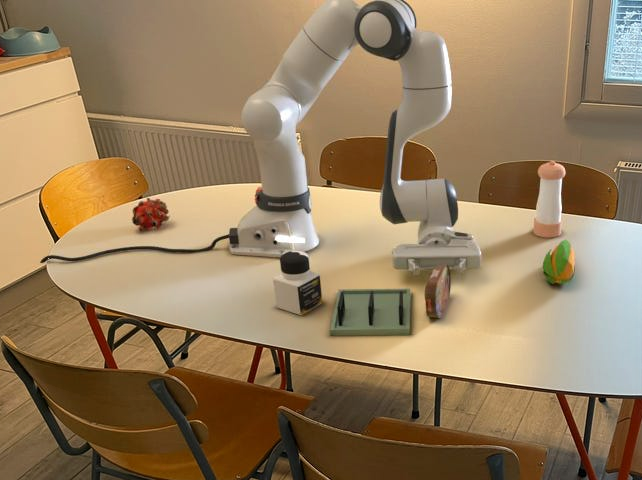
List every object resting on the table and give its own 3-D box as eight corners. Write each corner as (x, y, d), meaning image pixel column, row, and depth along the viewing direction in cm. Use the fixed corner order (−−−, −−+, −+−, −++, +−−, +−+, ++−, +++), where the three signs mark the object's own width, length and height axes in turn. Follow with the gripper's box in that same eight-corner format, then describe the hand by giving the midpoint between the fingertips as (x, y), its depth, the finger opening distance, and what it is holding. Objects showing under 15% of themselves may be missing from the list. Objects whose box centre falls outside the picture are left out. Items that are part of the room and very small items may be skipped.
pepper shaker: (565, 231, 199) (571, 160, 189) (553, 239, 193) (559, 167, 183) (540, 225, 202) (545, 155, 192) (528, 234, 197) (533, 162, 187)
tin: (437, 325, 153) (437, 288, 149) (422, 323, 154) (422, 287, 150) (451, 293, 166) (452, 258, 162) (438, 292, 167) (438, 257, 162)
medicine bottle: (301, 316, 157) (295, 263, 150) (276, 308, 160) (269, 256, 154) (323, 303, 162) (318, 252, 156) (298, 295, 165) (292, 245, 159)
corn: (542, 258, 164) (551, 226, 180) (537, 289, 168) (546, 255, 184) (575, 263, 162) (581, 230, 179) (570, 294, 167) (576, 259, 183)
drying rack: (330, 335, 149) (328, 314, 147) (338, 294, 165) (337, 274, 163) (409, 334, 150) (408, 313, 147) (410, 294, 166) (410, 273, 163)
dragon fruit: (173, 225, 206) (143, 246, 197) (149, 205, 205) (117, 225, 197) (180, 205, 199) (149, 226, 191) (155, 185, 199) (123, 205, 190)
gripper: (391, 235, 173) (389, 258, 162) (478, 234, 174) (483, 257, 162) (392, 259, 177) (390, 285, 165) (478, 258, 177) (482, 283, 165)
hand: (437, 271), depth 163 cm, fingers open, 8 cm apart
